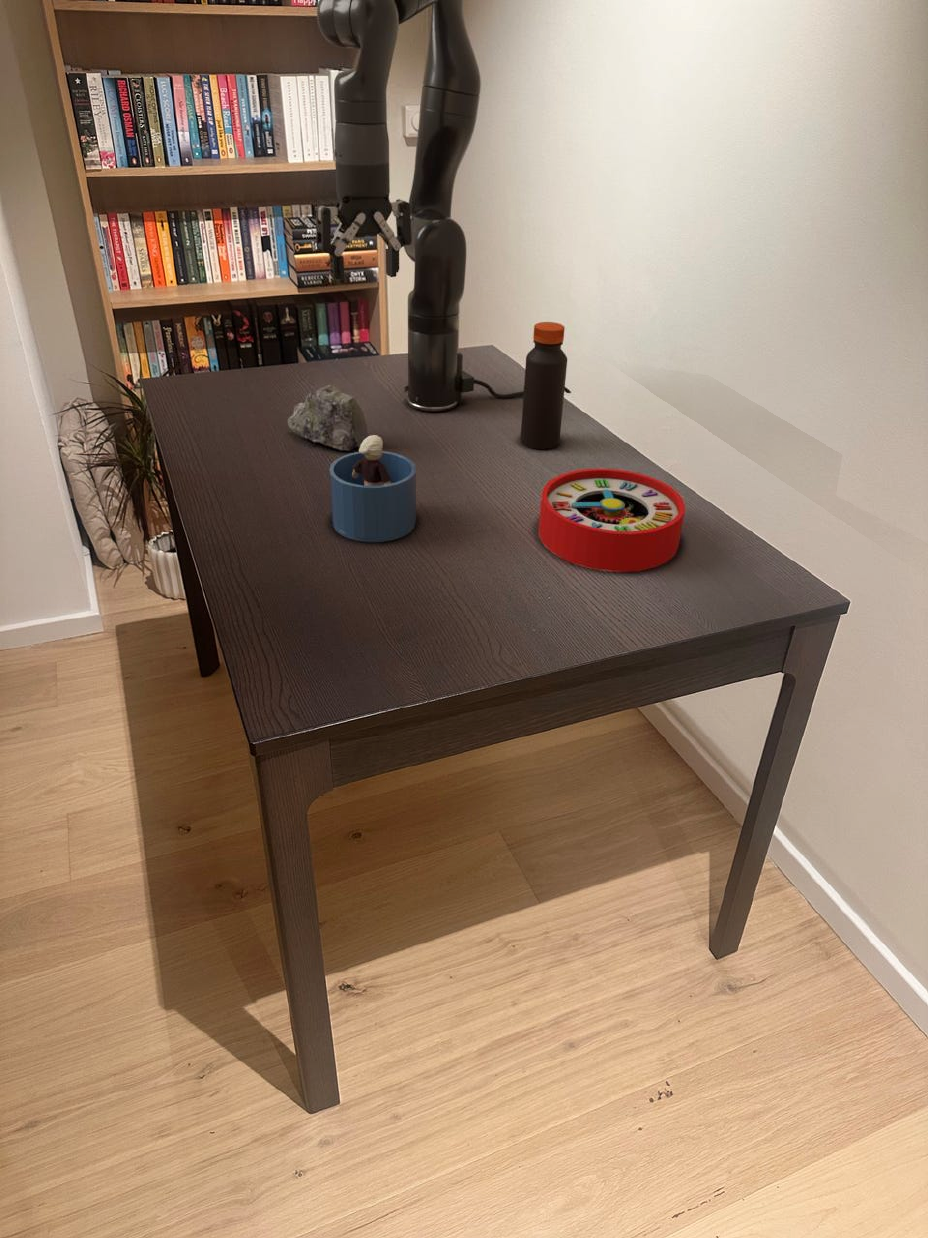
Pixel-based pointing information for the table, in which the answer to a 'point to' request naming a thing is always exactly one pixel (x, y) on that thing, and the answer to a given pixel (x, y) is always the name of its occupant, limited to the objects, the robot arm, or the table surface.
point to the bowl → (373, 499)
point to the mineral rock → (330, 419)
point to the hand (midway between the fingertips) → (365, 278)
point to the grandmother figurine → (371, 463)
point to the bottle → (544, 387)
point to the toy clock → (611, 519)
